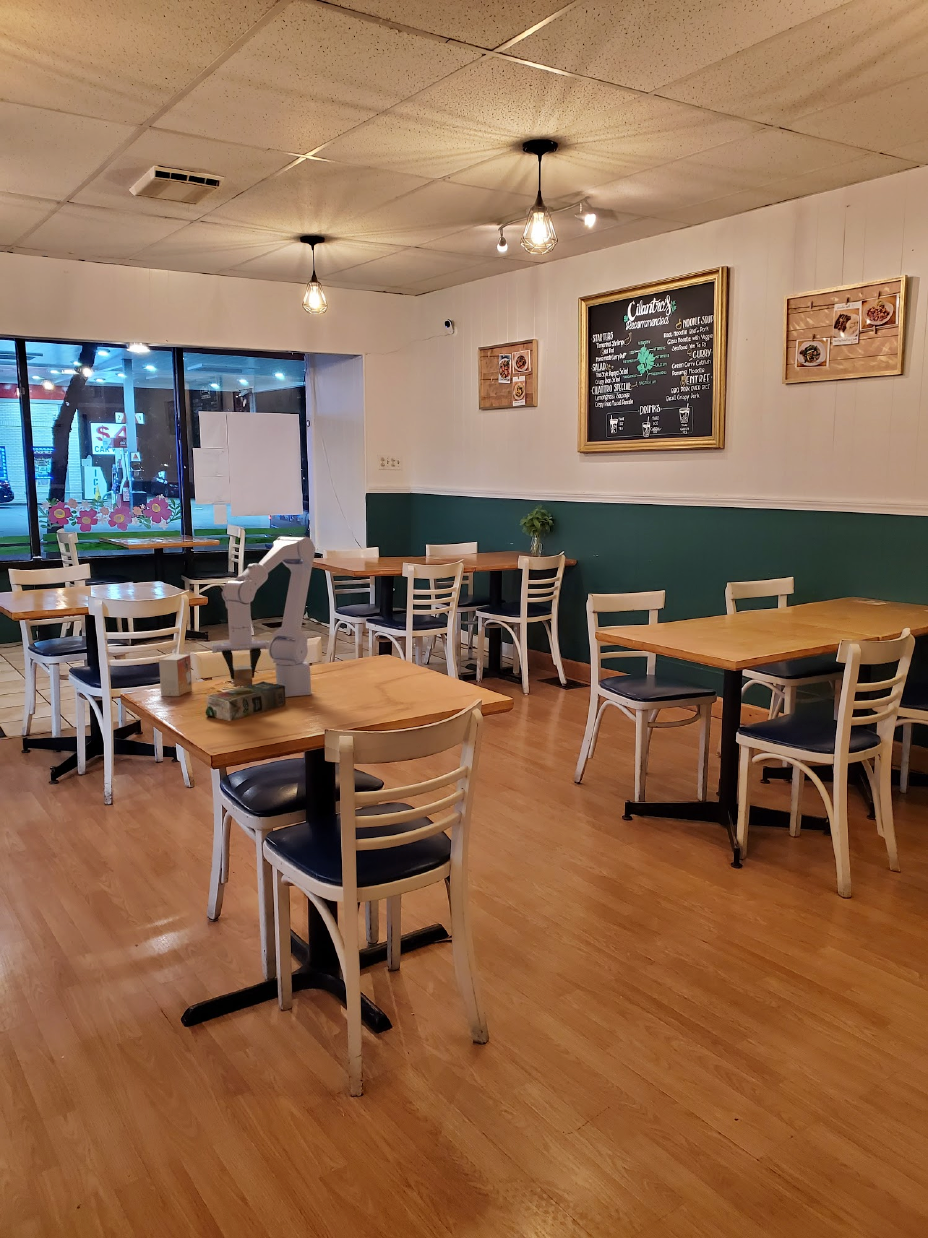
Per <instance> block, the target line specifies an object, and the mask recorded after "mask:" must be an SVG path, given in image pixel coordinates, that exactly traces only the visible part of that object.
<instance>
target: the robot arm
mask: <svg viewBox="0 0 928 1238" xmlns="http://www.w3.org/2000/svg"><path fill="white" fill-rule="evenodd" d="M315 553H316V547H315V545H314V541H312V539H311V538H310V537H308V536H304V537H300V536H299V537H296V536H284V535H282V536H280V535H279V537H277V538H276V539H275V540H274V541H273V543H272V548H271V549H270V550H269V551H268V552H267V553H266V555H264V556H263V558H262V559H261V560H260V561H259V562H258V563H257V562H255V563H249V564H248V565H247V568H246V569H245V570H243V571H242V573H240V574H238V575H237V577H236V578H235V579H234V580H229V581H227V582H226V583H225V584H224V585H223V587H222V591H221V597H222V599H223V601H224V602H225V608H226V609H227V619H228V622H227V623H228V638H229V639H228V640H229V642H223V643H213V644H211V652H212V654H218V653H221V654H222V657H223V658H224V660H225V663H226V665H227V667H228V670H229V674H230V679H231V680H233V679H234V671H233V666H234V655H233V652H238V651H239V652H240V651H241V652H243V651H249V658H250V659H249V661H250V666H251V668H252V679H253V678H255V672H256V668H257V665H258V661H259V659H260V657H261V655H262V651H261V650H268V655H269V657H270V658H271V660H273V661H272V663H274V664H275V681H276V682H275V684H279V685H284V686H285V698H288V697H289V698H290V697H298V696H299V697H300V696H309V695H310V696H311V695H312V681H311V679H312V678H311V665H310V662H309V661H305V660H306V658H307V656H308V653H309V650H308V636H307V635H306V634H305V633H304V632H303V631H302V625H303V619H304V614H305V610H306V609H305V608H306V602H307V597H308V591H309V586H310V579H311V575H312V574H311V573H312V568H313V566H314V558H315ZM281 563H283V565H284V566H285V567H286V568H288V569H289V571H290V577H289V583H288V588H287V589H288V590H287V595H286V601H285V607H284V612H283V619H282V622H281V626H280V627H279V628H278V629H277V630H275V631H274V632H273V635H272V639H271V641H269V640H253V637H252V635H253V634H252V633H253V632H252V616H251V615H252V614H251V602H253V601H254V599H255V595H256V593H257V590H258V589H260V587H261V586H262V585H263V584H265V582H266V581H267V580H268V577H269V573H270V572H271V571H272V570H273V569H275V568H276V567H277V566H279V565H280V564H281Z"/></svg>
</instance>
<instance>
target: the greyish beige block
mask: <svg viewBox="0 0 928 1238" xmlns="http://www.w3.org/2000/svg"><path fill="white" fill-rule="evenodd" d="M233 671H234V679H232V683H233V686H234V687H235V688H236V687H238V688H240V687H244V686H252V685H253V678H252V668H251V664H249V665H248V664H247V665H233Z"/></svg>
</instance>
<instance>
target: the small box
mask: <svg viewBox="0 0 928 1238" xmlns="http://www.w3.org/2000/svg"><path fill="white" fill-rule="evenodd" d="M191 662H192V661H191V654H182V653H181V654H179V653H177V654H176V653H173V654H170V655H168V656H166V657H163V658H160V659H158V664H159V665H158V666H159V680H160V681H159V682H160V683H159V684H160V685H159V686H160V696H162V697H181V696H182V695H184V694H186V693H189V692H191V691H193V684H192V683H193V682H192V681H193V680H192V666H191V665H192V664H191Z"/></svg>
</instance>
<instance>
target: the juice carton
mask: <svg viewBox="0 0 928 1238" xmlns="http://www.w3.org/2000/svg"><path fill="white" fill-rule="evenodd" d="M286 702H287V701H286V697H285V686H284V685H279V684H276V683H271V682H266V681H260V682H257V683H252V686H240V687H238V688H233V689H229V690H226V691H222V692H218V693H215V694H210V695H207V696H206V710H205V715H206V716H207V717H210V716H211V717H214V718H216V719H219V720H225V721H227V722H232V721H236V720H239V719H243V718H246V717H249V715H250V716H252V715H256V714H260V713H263V712H267V711H272V710H275V709H278V708H281V707H282V708H283V707H286V705H287V703H286ZM231 720H232V721H231Z"/></svg>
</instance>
